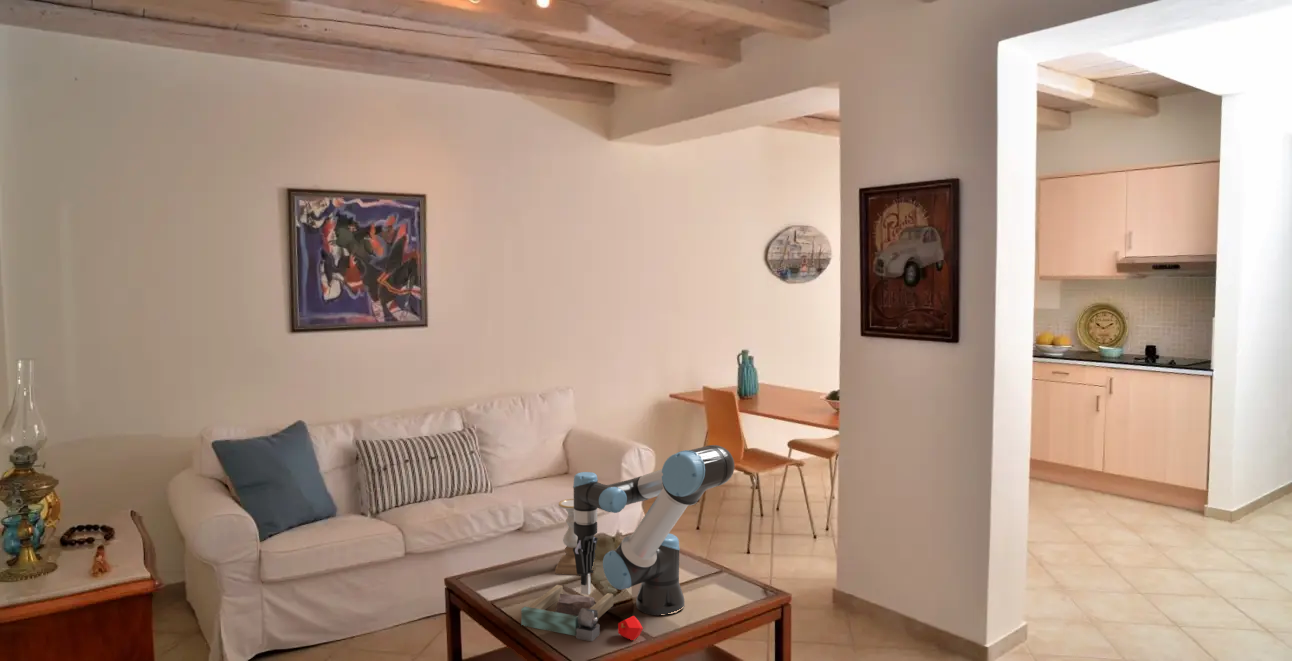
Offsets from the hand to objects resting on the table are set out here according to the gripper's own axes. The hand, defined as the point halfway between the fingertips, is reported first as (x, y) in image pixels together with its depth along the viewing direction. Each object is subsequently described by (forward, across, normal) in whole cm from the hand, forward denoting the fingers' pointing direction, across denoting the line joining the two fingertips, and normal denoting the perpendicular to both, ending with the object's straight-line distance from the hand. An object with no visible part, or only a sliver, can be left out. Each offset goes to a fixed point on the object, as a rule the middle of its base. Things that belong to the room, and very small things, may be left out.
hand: (585, 593), depth 266 cm
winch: (+2, +24, +13) cm, 27 cm away
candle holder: (+2, -22, -16) cm, 27 cm away
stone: (+2, +9, +1) cm, 9 cm away
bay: (+2, +13, 0) cm, 13 cm away
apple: (+2, +19, +24) cm, 31 cm away
